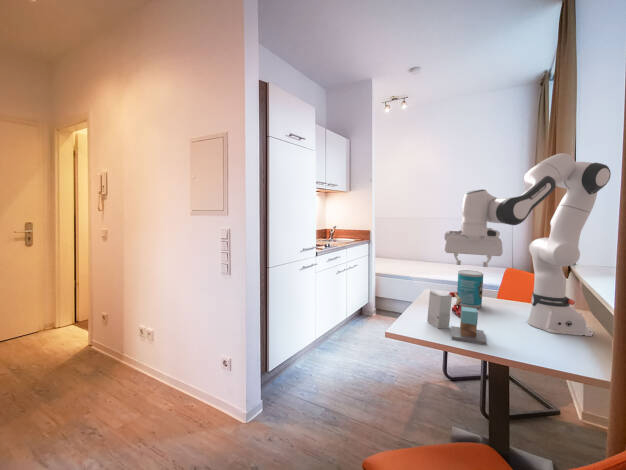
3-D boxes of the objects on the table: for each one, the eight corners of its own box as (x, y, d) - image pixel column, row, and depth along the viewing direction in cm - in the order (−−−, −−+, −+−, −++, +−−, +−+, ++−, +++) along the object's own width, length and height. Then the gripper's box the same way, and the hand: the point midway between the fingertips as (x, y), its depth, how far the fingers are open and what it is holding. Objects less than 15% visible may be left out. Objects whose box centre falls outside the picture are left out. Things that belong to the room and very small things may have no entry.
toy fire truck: (460, 318, 144) (461, 298, 143) (448, 309, 158) (449, 291, 157) (467, 319, 144) (468, 299, 143) (454, 309, 158) (455, 291, 157)
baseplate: (482, 333, 127) (483, 330, 127) (486, 345, 116) (486, 342, 116) (451, 328, 132) (451, 325, 132) (451, 339, 121) (451, 336, 121)
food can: (452, 301, 171) (454, 269, 169) (473, 301, 171) (475, 270, 170) (463, 308, 159) (465, 274, 157) (486, 308, 159) (488, 274, 158)
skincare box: (426, 322, 140) (428, 290, 138) (438, 320, 141) (439, 289, 140) (438, 329, 132) (440, 295, 130) (450, 327, 133) (452, 294, 132)
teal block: (475, 320, 125) (476, 308, 125) (477, 324, 120) (477, 312, 120) (460, 318, 127) (461, 306, 127) (461, 322, 122) (462, 310, 122)
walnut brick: (474, 332, 126) (475, 320, 125) (476, 337, 121) (476, 324, 120) (460, 329, 128) (460, 318, 127) (460, 334, 123) (461, 322, 122)
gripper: (444, 230, 122) (443, 264, 123) (504, 232, 114) (502, 269, 115) (444, 229, 128) (443, 262, 129) (501, 231, 119) (499, 266, 121)
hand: (471, 265), depth 122 cm, fingers open, 8 cm apart
